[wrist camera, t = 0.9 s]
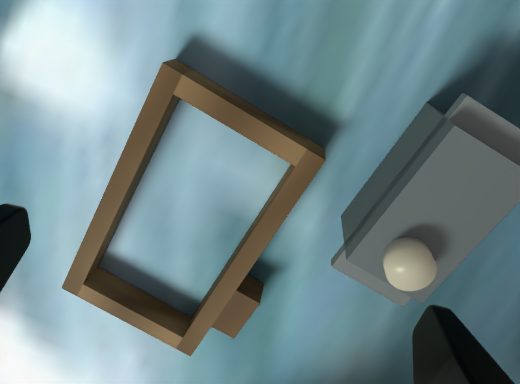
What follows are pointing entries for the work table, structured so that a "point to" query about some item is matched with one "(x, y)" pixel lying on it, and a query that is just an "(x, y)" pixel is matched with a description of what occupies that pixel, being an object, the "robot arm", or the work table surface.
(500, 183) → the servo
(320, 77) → the work table surface
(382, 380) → the work table surface
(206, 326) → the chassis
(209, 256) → the work table surface
